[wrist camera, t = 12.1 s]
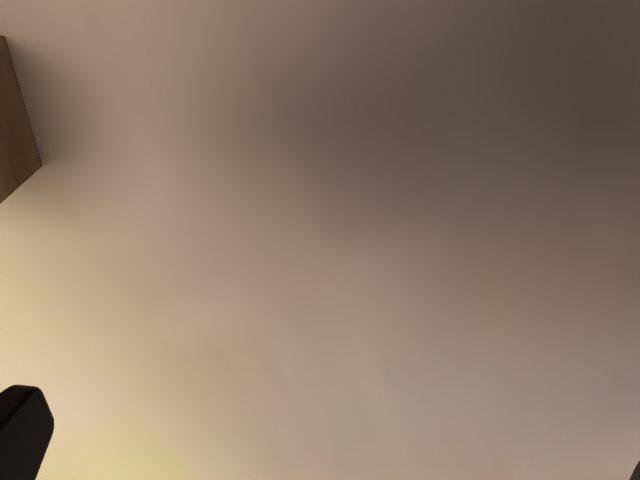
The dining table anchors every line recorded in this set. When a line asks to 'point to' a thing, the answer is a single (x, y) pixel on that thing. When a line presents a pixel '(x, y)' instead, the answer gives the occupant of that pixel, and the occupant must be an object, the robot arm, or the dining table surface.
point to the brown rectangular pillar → (14, 131)
